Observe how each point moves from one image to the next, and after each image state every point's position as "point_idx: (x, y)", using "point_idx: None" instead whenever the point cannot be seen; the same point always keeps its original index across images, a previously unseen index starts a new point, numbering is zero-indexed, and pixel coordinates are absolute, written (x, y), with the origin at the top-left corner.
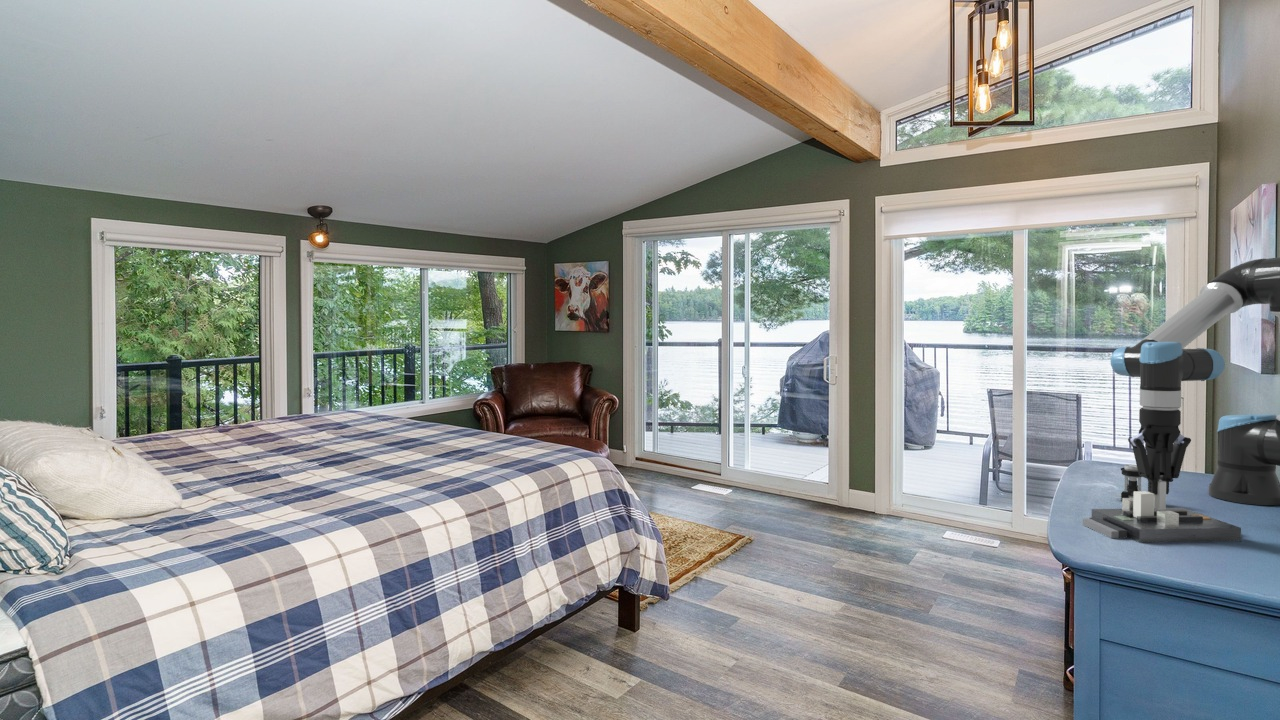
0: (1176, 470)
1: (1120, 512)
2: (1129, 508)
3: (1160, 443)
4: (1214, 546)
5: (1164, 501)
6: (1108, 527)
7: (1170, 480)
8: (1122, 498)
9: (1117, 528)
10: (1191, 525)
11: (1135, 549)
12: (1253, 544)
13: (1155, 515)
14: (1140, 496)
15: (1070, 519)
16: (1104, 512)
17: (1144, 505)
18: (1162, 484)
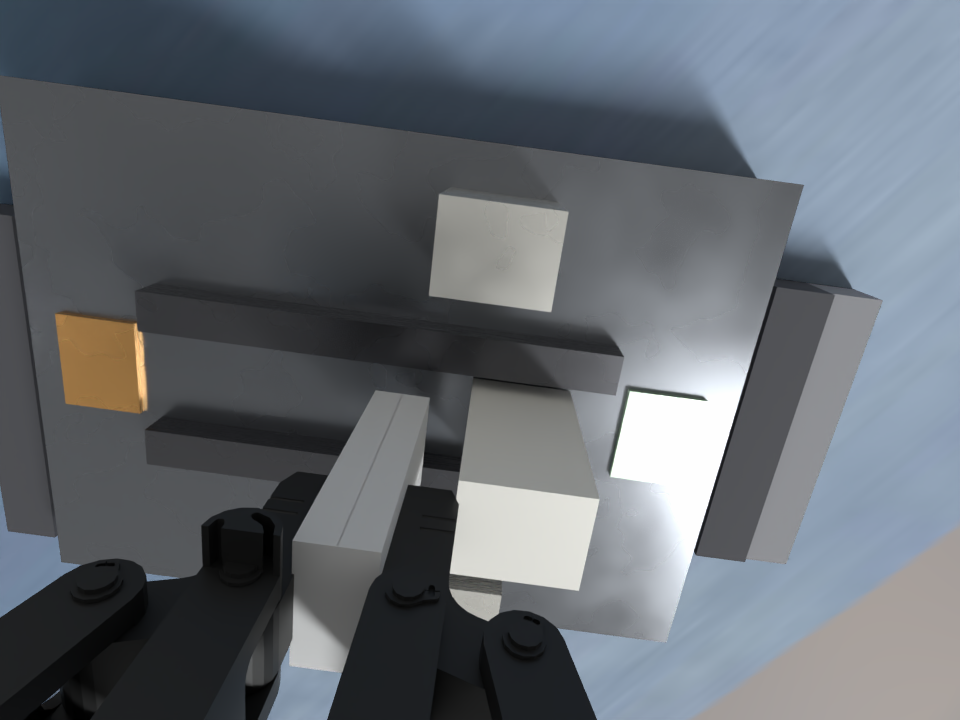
0: (27, 656)
1: None
2: None
3: None
4: (334, 15)
5: (371, 423)
6: (812, 379)
7: (251, 522)
8: None
9: (798, 335)
10: (325, 200)
11: (929, 50)
12: (38, 9)
13: None
14: (594, 490)
15: (735, 628)
16: (656, 570)
17: (552, 435)
18: (352, 526)
